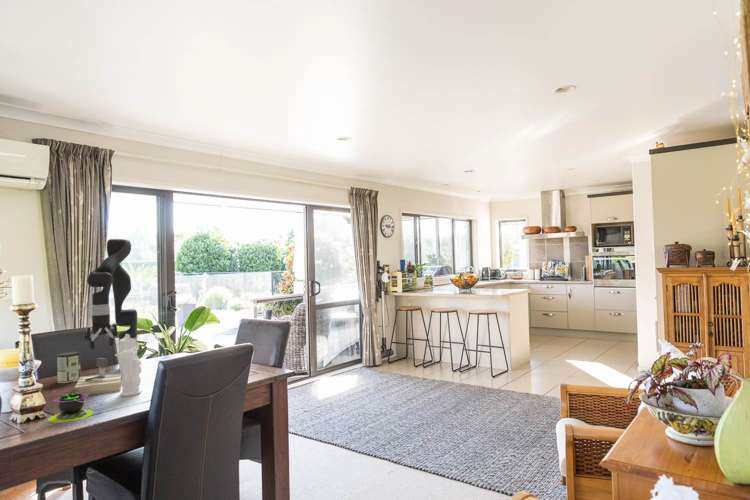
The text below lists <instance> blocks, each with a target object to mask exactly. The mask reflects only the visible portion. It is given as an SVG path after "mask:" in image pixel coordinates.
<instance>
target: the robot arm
mask: <svg viewBox="0 0 750 500" xmlns="http://www.w3.org/2000/svg"><path fill="white" fill-rule="evenodd" d="M131 251H132V244H131V241H130V240H129V239H127V238H126V239H125V238H110V239H108V240H107V242H106V253H107V257H106V258H104V260H103V261H102V262H101V263H100V265H99V266H98V267H97V268H95V269H94V270H93V271H91V272H90V273H88V276H87V278H86V279H87V280H86V282H87V284H88V285H89V287H91V288H102V289H101V291H96V292H94V293H92V296H91V300H92V305H91V306H92V307H91V325H92V326H91V327H85V328H84V340H85V341H88V342H89V349H90V350H95V341H94V340H95V339H96V338H97V337H98V336H103V335H106V336H107V337H108V346H109V347H112V346H113V345H114V338H115V337H118V354H119V353H120V340H121V339H123V338H124V337H125V334H129V335H130V338H132V339H135V340H136V345H137V343H138V312H137V310H136V309H134V308H133V309H132V308H131V309H130V308H129V309H123V307H122V306H123V304H124V303H125V300H126V299H127V297H128V295H129V293H130V292H131V289H132V282H131V281H132V279H131V276H130V274H129V273H128V272H127V271H126V269H125V268H124V267H123V266H122V264H121V263H122V262H124V260H125V259H126V258H127V257H128V256H129V255H130V253H131ZM111 288H112V292H113V293H112V294H113V301H114V320H115V323H112V324H110V323H111V311H110V310H111V307H110V292H111ZM127 326H128V327H129V328H128V329H127V330H124V331H122V332H119V333H118V327H127ZM110 329H111V331H110ZM91 332H92V333H91ZM136 356H137V357H138V352H137V353H136ZM118 364H119V365H118V366H119V368H118V369H119V370H120V358H119V357H118Z"/></svg>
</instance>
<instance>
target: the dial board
mask: <svg viewBox="0 0 750 500" xmlns="http://www.w3.org/2000/svg"><path fill="white" fill-rule="evenodd" d="M97 376H99V374H94V375H84V376H81V377H80V378H79V380H78V381H76V382H77V383H76V384H75V385H74V386H75V387H74V389H75V390H74V393H75V394H84V395H86V394H87V396H91V395H96V394H97V395H98V394H104V393H113V392H119V391H120V392H122V385H121V380H122V377H121V372H120V371H119V372H113V373H105V377H104V378H96V379H91V380H87V381H85V379H89V378H93V377H97ZM76 386H77V387H76ZM80 389H81V390H80ZM81 391H82V392H81ZM78 392H79V393H78ZM84 395H83V397H85V396H84Z"/></svg>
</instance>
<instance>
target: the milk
mask: <svg viewBox="0 0 750 500" xmlns="http://www.w3.org/2000/svg"><path fill="white" fill-rule="evenodd" d="M134 346H136V340H135V339H132V338H130V335H129V334H125V337H124V338H123V339H121V340H120V353H121V352H123V351H124V350H130V349H131V348H132V347H134ZM135 355H136V354H135ZM122 368H123V363H122V361H121V358H120V369H119V372H121V378H122V377H123V375H122Z"/></svg>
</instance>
